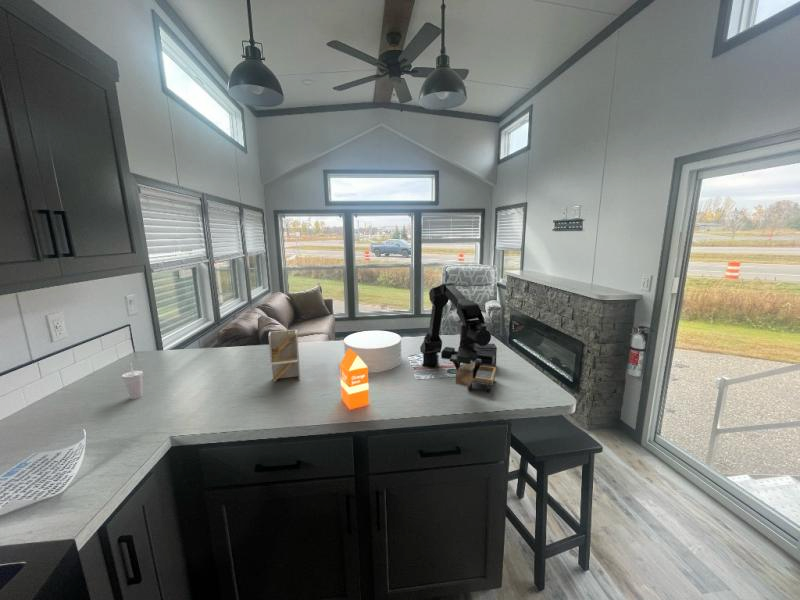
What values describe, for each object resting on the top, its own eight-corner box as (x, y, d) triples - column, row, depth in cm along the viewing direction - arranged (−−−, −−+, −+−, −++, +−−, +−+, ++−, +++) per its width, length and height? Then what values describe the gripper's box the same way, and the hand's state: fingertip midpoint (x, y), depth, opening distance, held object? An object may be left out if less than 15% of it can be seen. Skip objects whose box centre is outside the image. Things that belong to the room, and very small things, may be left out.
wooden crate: (272, 379, 143) (267, 323, 138) (300, 376, 146) (296, 321, 141) (271, 387, 136) (265, 328, 131) (300, 383, 139) (295, 325, 134)
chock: (455, 384, 119) (456, 371, 118) (464, 372, 129) (464, 360, 128) (469, 386, 117) (469, 373, 116) (476, 375, 127) (477, 363, 126)
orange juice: (349, 409, 117) (347, 356, 113) (341, 399, 125) (338, 349, 121) (369, 404, 121) (367, 352, 117) (360, 394, 128) (358, 345, 124)
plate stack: (400, 350, 177) (400, 329, 174) (402, 371, 149) (402, 347, 147) (348, 351, 176) (347, 331, 173) (341, 373, 148) (339, 349, 146)
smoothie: (130, 402, 124) (123, 367, 121) (123, 398, 127) (116, 364, 124) (149, 395, 129) (144, 362, 126) (142, 391, 132) (136, 358, 130)
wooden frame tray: (466, 390, 131) (467, 376, 129) (472, 376, 143) (473, 363, 142) (491, 394, 127) (492, 380, 126) (495, 379, 140) (496, 367, 139)
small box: (493, 363, 157) (494, 343, 155) (496, 369, 150) (497, 347, 148) (471, 363, 158) (472, 342, 156) (473, 368, 151) (473, 347, 149)
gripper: (437, 341, 116) (436, 382, 119) (491, 347, 109) (489, 390, 112) (445, 332, 126) (444, 370, 129) (495, 337, 119) (493, 377, 122)
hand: (466, 377), depth 123 cm, fingers closed on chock, 5 cm apart
